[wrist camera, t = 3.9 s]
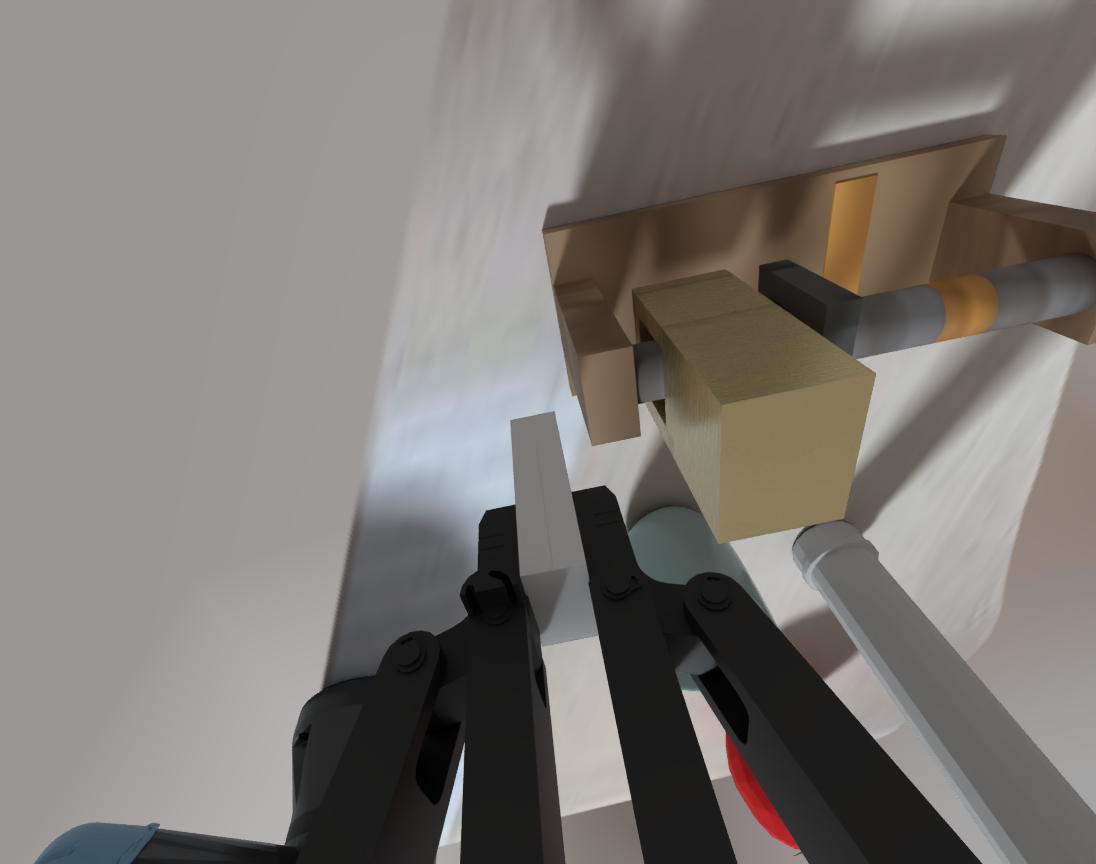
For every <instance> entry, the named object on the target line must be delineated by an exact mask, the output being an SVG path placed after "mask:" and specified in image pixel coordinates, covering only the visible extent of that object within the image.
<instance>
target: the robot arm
mask: <svg viewBox="0 0 1096 864" xmlns="http://www.w3.org/2000/svg"><path fill="white" fill-rule="evenodd" d="M510 423H511V439H512V455H513V471H514V487H515V503H516V505H511V506H506V507H501V508H496V509H491V510H486V512H485V514H484V516H483V518H482V520H481V521H480V523H479V542H478V552H479V553H478V571H477V572H475V573H474V574H472V575H471V576H470V577H469V578H468V579H467V580H466V582H465V583H464V584H463V586H462V589H461V593H460V597H461V599H462V602H463V604H464V606H465V609H466V611H467V613H468V616H467V617H466V618H465V619H464V620H463V621H462V622H460V623H459V624H457V625H456V626H454V627H452V628H451V629H449V630H447V631H445V632H443V633H441V634H439V635H437V636H433V635H432V634H431V633H430V632H425V631H415V632H410V633H408V634H406V635H404V636H402V637H400V638H399V639H397V640H396V641H395V642H394V643H393V644H392V645H391V646H390V647H389V649H388V650H387V652H386V654H385V655H384V657H383V659H382V662H381V664H380V666H379V669H378V671H377V673H376V676H375V678H364V679H357V680H351V681H347V682H343V683H340V684H337V685H334V686H331V687H329V688H327V689H324V690H322V691H321V692H319V693H317V694H316V695H314V697H312V698H311V699H310V700H308V701H307V703H306V704H305V705H304V706H303V708H302V710H301V713H300V716H299V719H298V723H297V726H296V729H295V732H294V736H293V742H292V765H293V766H292V767H293V768H292V771H293V772H292V773H293V774H292V775H293V776H292V779H293V814H292V819H291V823H290V827H289V831H288V834H287V838H286V842H285V845H276V844H271V843H264V842H256V841H249V840H241V839H234V838H226V837H218V836H211V835H203V834H196V833H187V832H181V831H173V830H165V829H158V827H159V825H160V824H158V823H151V824H149V825H147V826H138V825H125V824H111V823H88V824H83V825H80V826H77V827H75V828H72V829H71V830H69V831H67V832H65V833H64V834H62V835H61V836H59V837H58V838H57V839H55V840H54V841H53V842H52V843H51V844H50V845H49V846H48V847H47V848H46V849H45V850H44V852H43V853H42V854H41V855H40V856H39V858H38V859H37V860H36V862H35V863H34V864H436V855H437V849H438V846H439V842H440V838H441V834H442V830H443V826H444V822H445V818H446V814H447V810H448V806H449V802H450V798H451V794H452V790H453V786H454V782H455V778H456V774H457V770H458V766H459V762H460V758H461V754H462V750H463V746H464V742H465V750H464V777H463V803H462V829H461V855H460V864H565V854H564V844H563V835H562V825H561V815H560V805H559V795H558V785H557V775H556V765H555V755H554V745H553V735H552V725H551V716H550V706H549V696H548V686H547V676H546V668H545V665H544V661H543V658H542V652H541V643H542V646H547V645H553V644H558V643H563V642H568V641H573V640H578V639H583V638H588V637H593V636H598V635H599V640H600V644H601V649H602V654H603V659H604V664H605V669H606V674H607V679H608V684H609V689H610V694H611V699H612V704H613V709H614V714H615V719H616V724H617V729H618V734H619V739H620V744H621V749H622V754H623V759H624V764H625V769H626V774H627V779H628V784H629V789H630V794H631V799H632V803H633V809H634V814H635V819H636V824H637V829H638V833H639V839H640V844H641V849H642V853H643V859H644V864H737V861H736V858H735V854H734V851H733V848H732V845H731V842H730V839H729V836H728V833H727V830H726V827H725V823H724V820H723V818H722V814H721V811H720V808H719V805H718V802H717V799H716V796H715V793H714V789H713V787H712V783H711V780H710V777H709V774H708V771H707V768H706V765H705V762H704V759H703V755H702V752H701V749H700V746H699V743H698V740H697V737H696V734H695V731H694V728H693V724H692V721H691V718H690V715H689V712H688V709H687V706H686V703H685V700H684V697H683V694H682V690H681V687H680V684H679V681H678V678H677V675H676V672H682V673H689V674H690V675H691V677H692V679H693V680H694V682H695V683H696V685H697V686H698V688H699V690H700V691H701V693H702V694H703V696H704V698H705V699H706V701H707V702H708V704H709V706H710V707H711V709H712V710H713V712H714V713H715V715H716V717H717V718H718V720H719V721H720V723H721V725H722V726H723V728H724V729H725V731H726V733H727V734H728V736H729V737H730V739H731V740H732V742H733V744H734V745H735V747H736V748H737V750H738V752H739V753H740V755H741V756H742V758H743V760H744V761H745V763H746V764H747V766H748V767H749V769H750V771H751V772H752V774H753V775H754V777H755V779H756V780H757V782H758V783H759V785H760V787H761V788H762V790H763V791H764V793H765V794H766V796H767V798H768V799H769V801H770V802H771V804H772V806H773V807H774V809H775V810H776V812H777V814H778V815H779V817H780V818H781V820H782V821H783V823H784V825H785V826H786V828H787V829H788V831H789V833H790V834H791V836H792V837H793V839H794V841H795V842H796V844H797V845H798V847H799V848H800V850H801V852H802V853H803V855H804V856H805V858H806V860H807V861H808V863H809V864H982V863H981V862H980V860H979V859H978V858H977V857H976V856H975V855H974V854H973V852H972V851H971V850H970V849H969V848H968V847H967V846H966V844H965V843H964V842H963V841H962V840H961V839H960V837H959V836H958V835H957V834H956V833H955V832H954V831H953V829H952V828H951V827H950V826H949V825H948V824H947V822H945V820H944V819H943V818H942V817H941V816H940V815H939V813H938V812H937V811H936V810H935V809H934V808H933V806H932V805H931V804H930V803H929V802H928V801H927V799H926V798H925V797H924V796H923V795H922V794H921V793H920V791H919V790H918V789H917V788H916V787H915V786H914V784H913V783H912V782H911V781H910V780H909V779H908V778H907V776H906V775H905V774H904V773H903V772H902V771H901V769H900V768H899V767H898V766H897V765H896V764H895V763H894V761H893V760H892V759H891V758H890V757H889V756H888V754H887V753H886V752H885V751H884V750H883V749H882V748H881V746H880V745H879V744H878V743H877V742H876V741H875V739H874V738H873V737H872V736H871V735H870V734H869V733H868V731H867V730H866V729H865V728H864V727H863V726H862V724H861V723H860V722H859V721H858V720H857V719H856V718H855V716H854V715H853V714H852V713H851V712H850V711H849V709H848V708H847V707H846V706H845V705H844V704H843V703H842V701H841V700H840V699H839V698H838V697H837V696H836V695H835V693H834V692H833V691H832V690H831V689H830V688H829V686H828V685H827V684H826V683H825V682H824V681H823V680H822V678H821V677H820V676H819V675H818V674H817V673H816V671H815V670H814V669H813V668H812V667H811V666H810V665H809V663H808V662H807V661H806V660H805V659H804V658H803V656H802V655H801V654H800V653H799V652H798V651H797V650H796V648H795V647H794V646H793V645H792V644H791V643H790V641H789V640H788V639H787V638H786V637H785V636H784V635H783V633H782V632H781V631H780V630H779V629H778V628H777V627H776V625H775V624H774V623H773V622H772V621H771V620H770V618H769V617H768V616H767V615H766V614H765V613H764V612H763V610H762V609H761V608H760V607H759V606H758V605H757V603H756V602H755V601H754V600H753V599H752V598H751V597H750V595H749V594H748V593H747V592H746V591H745V590H744V588H743V587H742V586H741V585H740V584H739V583H737V582H736V581H735V580H734V579H733V578H731V577H729V576H727V575H724V574H721V573H716V572H705V573H701V574H697V575H695V576H694V577H692V578H691V579H690V580H688V582H687V584H686V585H683V584H672V583H665V582H660V581H657V580H655V579H652V578H651V577H649V576H648V575H646V574H645V573H644V572H643V571H642V570H641V569H640V567H639V565H638V563H637V561H636V558H635V555H634V552H633V548H632V545H631V542H630V539H629V536H628V533H627V530H626V527H625V523H624V521H623V517H622V514H621V512H620V508H619V505H618V502H617V499H616V496H615V495H614V494H613V493H612V492H611V491H610V490H609V489H608V488H607V487H606V486H605V485H604V486H599V487H594V488H589V489H584V490H579V491H575V492H571V489H570V484H569V479H568V474H567V469H566V465H565V460H564V455H563V450H562V445H561V441H560V436H559V431H558V426H557V421H556V417H555V412H554V411H553V412H548V413H543V414H538V415H534V416H529V417H524V418H519V419H514V420H510ZM540 640H541V641H540Z"/></svg>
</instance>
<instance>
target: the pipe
mask: <svg viewBox="0 0 1096 864" xmlns="http://www.w3.org/2000/svg"><path fill="white" fill-rule="evenodd" d="M792 552H793V560H794V562H795V563H796V565H797V566H798V568H799V569H800V571H801V572H802V577H803V579H804V580H805V582H806V583H807V584H808V585H809V586H810V587H811V589H814V590H817V591H819V592H820V594H821V595H822V597H823V598H824V600H825V601H826V603H827V604H828V606H829V607H830V609H831V610H832V612H833V613H834V615H835V616H836V618H837V619H838V621H839V622H840V623H841V625H842V626H843V628H844V629H845V631H846V632H847V634H848V635H849V637H850V638H851V640H852V641H853V643H854V644H855V646H856V647H857V649H858V650H859V652H860V653H861V654H862V656H863V657H864V659H865V660H866V662H867V663H868V665H869V666H870V668H871V669H872V671H873V672H874V674H875V675H876V677H877V678H878V680H879V681H880V683H881V684H882V685H883V687H884V688H885V690H886V691H887V693H888V694H889V696H890V697H891V699H892V700H893V702H894V703H895V705H896V706H897V708H898V709H899V711H900V712H901V714H902V715H903V716H904V718H905V719H906V721H907V722H908V724H909V725H910V727H911V728H912V730H913V731H914V733H915V734H916V736H917V737H918V739H919V740H920V741H921V743H922V745H923V746H924V747H925V749H926V750H927V752H928V753H929V755H930V756H931V758H932V759H933V761H934V762H935V764H936V765H937V767H938V768H939V770H940V771H941V773H942V774H943V775H944V777H945V778H946V780H947V781H948V783H949V784H950V786H951V787H952V789H953V790H954V792H955V793H956V795H957V796H958V798H959V799H960V801H961V802H962V804H963V805H964V807H965V808H966V809H967V811H968V812H969V814H970V815H971V817H972V818H973V820H974V821H975V823H976V824H977V826H978V827H979V828H980V830H981V832H982V833H983V835H984V836H985V838H986V839H987V841H988V842H989V843H990V845H991V846H992V848H993V849H994V851H995V852H996V854H997V855H998V857H999V858H1000V860H1001V861H1002V863H1003V864H1096V814H1095V813H1094V812H1093V811H1092V810H1091V809H1090V807H1089V806H1088V805H1087V804H1086V803H1085V802H1084V801H1083V799H1082V798H1081V797H1080V796H1079V795H1078V793H1077V792H1076V791H1075V790H1074V789H1073V788H1072V786H1071V785H1070V784H1069V783H1068V782H1067V781H1066V780H1065V778H1064V777H1063V776H1062V775H1061V774H1060V772H1059V771H1058V770H1057V769H1056V768H1055V766H1053V764H1052V763H1051V762H1050V761H1049V759H1048V758H1047V757H1046V756H1045V755H1044V754H1043V752H1042V751H1041V750H1040V749H1039V748H1038V747H1037V745H1036V744H1035V743H1034V742H1033V741H1032V740H1031V738H1030V737H1029V736H1028V735H1027V734H1026V733H1025V731H1024V730H1023V729H1022V728H1021V727H1020V725H1019V724H1018V723H1017V722H1016V721H1015V720H1014V719H1013V717H1012V716H1011V715H1010V714H1009V713H1008V711H1007V710H1006V709H1005V708H1004V707H1003V706H1002V704H1001V703H1000V702H999V701H998V700H997V699H996V697H995V696H994V695H993V694H992V693H991V692H990V690H989V689H988V688H987V687H986V686H985V685H984V683H983V682H982V681H981V680H980V679H979V678H978V676H977V675H976V674H975V673H974V672H973V671H972V669H971V668H970V667H969V666H968V665H967V663H966V662H965V661H964V660H963V659H962V658H961V656H960V655H959V654H958V653H957V652H956V651H955V649H954V648H953V647H952V646H951V645H950V644H949V642H948V641H947V640H946V639H945V638H944V637H943V635H942V634H941V633H940V632H939V631H938V630H937V628H936V627H935V626H934V625H933V624H932V623H931V621H930V620H929V619H928V618H927V617H926V616H925V614H924V613H923V612H922V611H921V610H920V608H919V607H918V606H917V605H916V604H915V603H914V601H913V600H912V599H911V598H910V597H909V596H908V594H907V593H906V592H905V591H904V590H903V589H902V587H901V586H900V585H899V584H898V583H897V582H896V580H895V579H894V578H893V577H892V576H891V575H890V573H889V572H888V571H887V570H886V569H885V568H884V566H883V565H882V564H881V563H880V562H879V561H878V555H879V553H878V551H877V550H876V548H875V547H874V546H873V544H872V543H871V542H870V541H869V540H866V539H865V538H864V537H863V536H862V535H861V534H860V532H859V531H858V530H857V529H856V528H855V527H854V526H853V525H851V524H849V523H846V522H843V521H830V522H825V523H821V524H818V525H816V526H814V527H812V528H811V529H809V530H807V531H805V532H804V533H803V534H802V535H801V536H800V537H799V538H798V539H797V540H796V542H795V544H794V547H793V549H792Z"/></svg>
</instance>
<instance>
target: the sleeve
mask: <svg viewBox="0 0 1096 864" xmlns="http://www.w3.org/2000/svg"><path fill="white" fill-rule="evenodd" d="M632 300H633V312H634V323H635V335H636V344H638V343H642V342H647V341H652V340H655V341H656V342H657V344H658V345H659V346H660V348H661V349H662V355H663V374H664V393H665V399H660V400H655V401H650V402H645V404H646V406H647V408H648V410H649V412H650V414H651V416H652V417H653V419H654V421H655V423H656V425H657V427H658V429H659V431H660V433H661V435H662V437H663V439H664V440H665V442H666V444H667V446H668V448H669V450H670V452H671V454H672V456H673V458H674V460H675V462H676V463H677V465H678V467H679V469H680V471H681V473H682V475H683V477H684V479H685V481H686V483H687V485H688V486H689V488H690V490H691V492H692V494H693V496H694V498H695V500H696V502H697V504H698V506H699V508H700V510H701V511H702V513H703V515H704V517H705V519H706V521H707V523H708V525H709V527H710V529H711V531H712V533H713V534H714V536H715V538H716V540H717V542H718V544H720V543H725V542H730V541H735V540H740V539H745V538H750V537H755V536H760V535H765V534H770V533H775V532H780V531H785V530H790V529H795V528H800V527H805V526H810V525H815V524H820V523H825V522H830V521H835V520H840V519H844V517H845V512H846V508H847V503H848V498H849V494H850V489H851V485H852V480H853V476H854V471H855V467H856V462H857V458H858V453H859V449H860V444H861V440H862V435H863V431H864V426H865V422H866V417H867V412H868V408H869V403H870V399H871V394H872V390H873V385H874V381H875V376H876V373H875V372H873V371H872V370H871V369H869V368H868V367H866V366H865V365H863V364H862V363H860V362H859V361H858V360H856V359H855V358H853V357H852V356H850V355H849V354H847V353H846V352H845V351H843V350H842V349H840V348H839V347H837V346H836V345H834V344H833V343H832V342H830V341H829V340H827V339H826V338H824V337H823V336H821V335H820V334H819V333H817V332H816V331H814V330H813V329H811V328H810V327H808V326H807V325H806V324H804V323H803V322H801V321H800V320H798V319H797V318H795V317H794V316H793V315H791V314H790V313H788V312H787V311H785V310H784V309H782V308H781V307H780V306H778V305H777V304H775V303H774V302H772V301H771V300H769V299H768V298H766V297H765V296H764V295H762V294H761V293H759V292H758V291H756V290H755V289H753V288H752V287H751V286H749V285H748V284H746V283H745V282H743V281H742V280H740V279H739V278H738V277H736V276H735V275H733V274H732V273H730V272H729V271H727V270H726V269H724V270H719V271H714V272H709V273H704V274H700V275H695V276H690V277H685V278H681V279H676V280H671V281H666V282H662V283H657V284H652V285H647V286H643V287H638V288H633V289H632Z"/></svg>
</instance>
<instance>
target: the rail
mask: <svg viewBox="0 0 1096 864" xmlns="http://www.w3.org/2000/svg"><path fill="white" fill-rule="evenodd" d="M1005 139H1006V136H1002V135H985V136H980V137H975V138H971V139H966V140H961V141H957V142H952V143H947V144H943V145H938V146H933V147H929V148H924V149H919V150H915V151H910V152H905V153H900V154H896V155H891V156H886V157H882V158H877V159H872V160H868V161H863V162H858V163H854V164H849V165H844V166H840V167H835V168H830V169H825V170H821V171H816V172H811V173H807V174H802V175H797V176H793V177H788V178H783V179H779V180H774V181H769V182H765V183H760V184H755V185H750V186H746V187H741V188H736V189H732V190H727V191H722V192H718V193H713V194H708V195H704V196H699V197H694V198H690V199H685V200H680V201H675V202H671V203H666V204H661V205H657V206H652V207H647V208H643V209H638V210H633V211H629V212H624V213H619V214H615V215H610V216H605V217H600V218H596V219H591V220H586V221H582V222H577V223H572V224H568V225H563V226H558V227H554V228H549V229H544V230H542V232H543V238H544V243H545V249H546V255H547V260H548V266H549V272H550V277H551V283H552V289H553V294H554V300H555V306H556V311H557V317H558V323H559V328H560V334H561V340H562V345H563V351H564V357H565V362H566V368H567V374H568V379H569V385H570V390H571V393H572V396H575V395H577V397H578V400H579V404H580V407H581V410H582V414H583V417H584V420H585V424H586V427H587V430H588V434H589V437H590V440H591V444H592V446H595V445H600V444H605V443H610V442H615V441H620V440H625V439H630V438H634V437H639V436H641V432H640V421H639V410H638V404H640V403H645V402H650V401H655V400H660V399H665V393H664V374H663V355H662V349H661V348H660V346H659V345H658V344H657V342H656V341H655V340H652V341H647V342H642V343H638V344H636V335H635V323H634V312H633V300H632V289H633V288H638V287H643V286H647V285H652V284H657V283H662V282H666V281H671V280H676V279H681V278H685V277H690V276H695V275H700V274H704V273H709V272H714V271H719V270H724V269H726V270H727V271H729V272H730V273H732V274H733V275H735V276H736V277H738V278H739V279H740V280H742V281H743V282H745V283H746V284H748V285H749V286H751V287H752V288H753V289H755V290H756V291H758V280H759V265H763V264H767V263H772V262H777V261H782V260H786V259H788V260H790V261H792V262H794V263H796V264H798V265H800V266H802V267H804V268H806V269H808V270H810V271H812V272H814V273H816V274H818V275H820V276H821V277H823V278H825V279H827V280H829V281H831V282H833V283H835V284H837V285H839V286H841V287H843V288H845V289H847V290H849V291H851V292H853V293H855V294H857V295H858V296H860V297H862V298H863V301H862V307H861V312H860V317H859V323H858V328H857V334H856V339H855V344H854V350H853V355H852V357H853V358H855V359H859V358H864V357H869V356H874V355H878V354H883V353H888V352H893V351H898V350H903V349H908V348H912V347H917V346H922V345H927V344H932V343H937V342H942V341H946V340H951V339H956V338H961V337H966V336H971V335H976V334H980V333H985V332H990V331H995V330H1000V329H1005V328H1010V327H1014V326H1019V325H1024V324H1029V323H1033V324H1036V325H1038V326H1041V327H1043V328H1046V329H1048V330H1051V331H1053V332H1056V333H1058V334H1061V335H1063V336H1066V337H1068V338H1071V339H1073V340H1076V341H1078V342H1081V343H1083V344H1086V345H1089V344H1093V343H1096V212H1091V211H1085V210H1079V209H1073V208H1068V207H1062V206H1056V205H1051V204H1045V203H1039V202H1033V201H1028V200H1022V199H1016V198H1011V197H1005V196H999V195H993V194H989V193H990V190H991V186H992V183H993V180H994V176H995V173H996V170H997V166H998V163H999V159H1000V156H1001V153H1002V149H1003V146H1004V143H1005ZM788 313H790V314H791V315H793V316H794V317H795V318H797V319H798V320H800V321H801V322H803V323H804V324H806V325H807V326H808V322H806V321H805V320H804V319H802V318H801V317H799V316H798V315H796V314H795V313H793V312H792V311H791V312H788Z"/></svg>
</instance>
